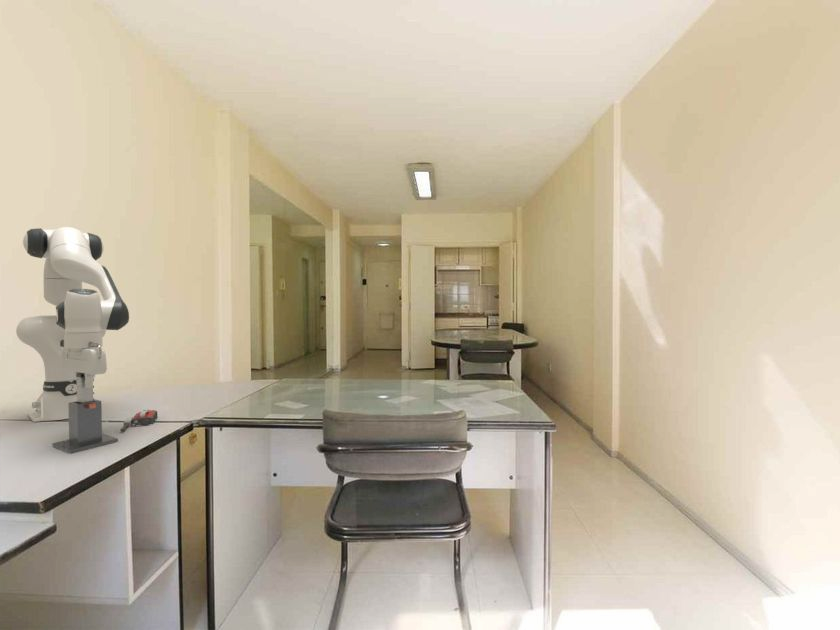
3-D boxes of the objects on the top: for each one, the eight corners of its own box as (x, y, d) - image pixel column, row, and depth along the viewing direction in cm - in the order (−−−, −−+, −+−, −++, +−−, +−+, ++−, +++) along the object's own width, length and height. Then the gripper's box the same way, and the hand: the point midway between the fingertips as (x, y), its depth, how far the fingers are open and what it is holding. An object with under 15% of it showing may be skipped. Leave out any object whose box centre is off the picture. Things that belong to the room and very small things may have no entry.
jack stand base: (52, 446, 120) (51, 403, 120) (99, 435, 130) (99, 395, 130) (69, 453, 114) (69, 408, 114) (118, 441, 125) (117, 400, 124)
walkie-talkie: (131, 419, 150) (117, 434, 132) (130, 408, 150) (117, 421, 132) (158, 416, 154) (149, 431, 136) (158, 405, 154) (149, 418, 136)
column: (76, 438, 122) (75, 373, 121) (90, 435, 125) (89, 372, 124) (81, 440, 120) (80, 374, 120) (95, 437, 123) (94, 372, 123)
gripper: (112, 342, 119) (113, 388, 120) (81, 339, 129) (82, 382, 130) (87, 344, 114) (88, 392, 114) (56, 341, 124) (57, 385, 124)
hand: (84, 386), depth 122 cm, fingers closed on column, 3 cm apart
